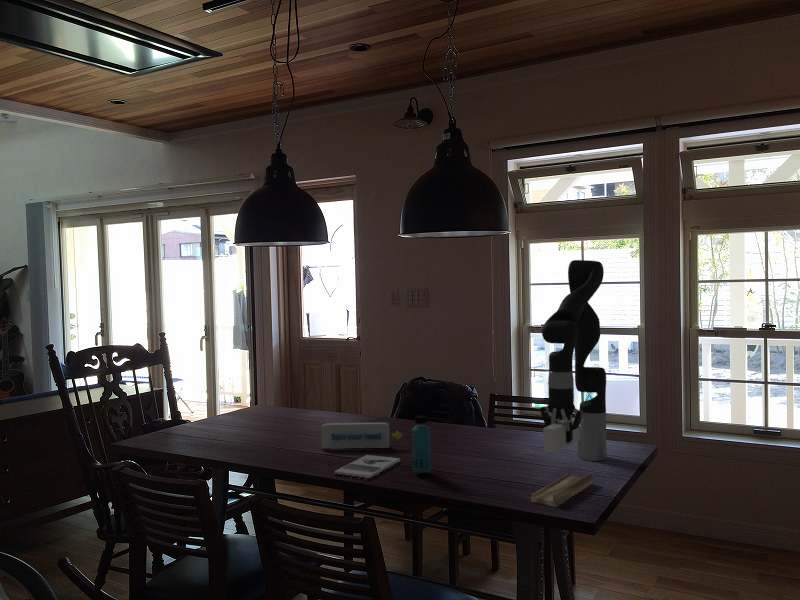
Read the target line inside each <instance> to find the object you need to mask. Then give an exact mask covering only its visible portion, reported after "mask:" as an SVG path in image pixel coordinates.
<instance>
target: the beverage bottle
mask: <svg viewBox="0 0 800 600" xmlns="http://www.w3.org/2000/svg"><path fill="white" fill-rule="evenodd" d="M427 418H428V417H427V416H426V415H416V416H414V423H415V424H417V425H414V426H413V427H412V429H411V431H412V432H411V434H412V439H411V445H412V456H411V457H412V461H411V462H412V470H413V472H416V473H429V472H431V470H432V456H431V455H432V453H431V452H432V450H431V428H430V427H429V426H428V425H425V424H426V423H428V419H427Z"/></svg>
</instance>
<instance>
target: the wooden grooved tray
mask: <svg viewBox="0 0 800 600" xmlns="http://www.w3.org/2000/svg"><path fill="white" fill-rule="evenodd" d="M592 475H593V473H592V472H587V473H586V474H584V475H582V476H575V475H571V473H566V474H565V475H563V476H561V477H559V478H558V479H556V480H554V481H553V482H551V483H548V484H547V485H546V486H543V487H542V488H540V489H538V490H537V491H535V492H533V493H532V494H531V495H530V502H531V503H536V504H540V505H544V506H549V507H553V508H558V507H560V505H562V504H564V503H565V502H567V501H568V500H569V498H570V499H572V498H573V497H575V496H576V495H577V494H579V493H580V492H582V491H584V490H585V489H586V487H587V488H588V487H590V486H591V485H592V484H593V477H592ZM589 485H590V486H589ZM583 489H584V490H583ZM578 492H579V493H578ZM575 494H576V495H575ZM572 496H573V497H572ZM566 500H567V501H566Z"/></svg>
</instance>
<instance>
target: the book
mask: <svg viewBox="0 0 800 600" xmlns="http://www.w3.org/2000/svg"><path fill="white" fill-rule="evenodd" d="M398 462H400V463H401V458H400V457H391V456H382V455H372V454H366V455H364V456H362V457H360V458H358V459H356V460H354V461H352V462H350V463H348V464H345V465H344V466H342V467H340V468H339V469H338V468H337V469H336V470H334V474H335V473H338V474H345V475H352V476H359V477H365V478H371V477H373V476H375V475H377V474H379V473H380V472H382V471H383V470H385V469H387V468H389V467H391V466H393V465H394V464H396V463H398ZM398 464H399V463H398ZM396 465H397V464H396ZM394 466H395V465H394ZM394 466H393V467H394ZM391 468H392V467H391ZM389 469H390V468H389ZM379 475H380V474H379ZM377 476H378V475H377Z"/></svg>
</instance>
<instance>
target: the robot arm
mask: <svg viewBox="0 0 800 600" xmlns="http://www.w3.org/2000/svg"><path fill="white" fill-rule="evenodd" d="M567 267H568V269H567V279H568V287H569V294H567V295H566V296H565V297H564V298H563V299H562V301H561V303H560V304H559V306H558V309H557V310H556V311H555V312H554V313H553V314H552V315H550V317H549V318H547V320H545V322H544V324H543V325H542V329H541V335H542V339H543V340H544V341H545V342H547V343H548V344H559V345H560V344H561V345H563V347H562V349H560V350H556V351H554V350H553V351H552V352H550V353H549V355H548V376H547V377H548V380H547V385H548V387H547V388H548V404H547V405H546V406H542V407H540V408H539V411H540V414H541V417H542V419H543V423H544V426H545V427H547V426H549V425H552V424H554V423H556V422H559V421H560V420H563V421H564V424H566V430H567V431H566V443H570V442H571V441H572V440H573V430H575V429H577V428H579V429H580V441H578V442H577V456H578V458H581V459H582V460H585V461H590V462H591V461H592V462H602V461H605V460H607V457H608V455H607V454H608V452H607V451H608V450H607V447H608V446H607V406H606V403H607V399H606V398H607V397H606V396H607V394H606V392H607V373H606V369H605V368H604V367H599V366H597V367H595V366H585V364H586V361H587V358H588V357H589V355H590V354H591V352H592V351H593V350H594V348H595V347H596V346H597V344H598V343H599V342H600V338H601V324H600V318H599V316H598V313H596V311H595V309H594V308H593V307H592V306H591V305H590V303H589V301H590V300H591V299H592V297H593V296H594V295H595V294H596V292H597V291H598V289H599V288H600V286H602V283H603V279H604V273H605V271H604V265H603V264H602V262H600V261H597V260H588V259H587V260H585V259H583V260H581V259H574V260H571V261H570V262H569V264H568V266H567ZM573 355H574V368H573ZM573 369H574V372H573ZM574 383H575V385H574ZM574 386H575V388H576V390H577V392H580V393H591V394H592V393H596V395H595V396H594V397H592V398H590V399H588V400H585V401H582V402H580V404H579V409H578V408H576V406H575V403H574V401H575V393H574V391H575V388H574ZM549 412H550V414H551V416H550V414H549ZM573 414H574V415H573ZM572 415H573V416H574V418H575V419H574V422H573V425H572V418H573V417H572Z"/></svg>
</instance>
